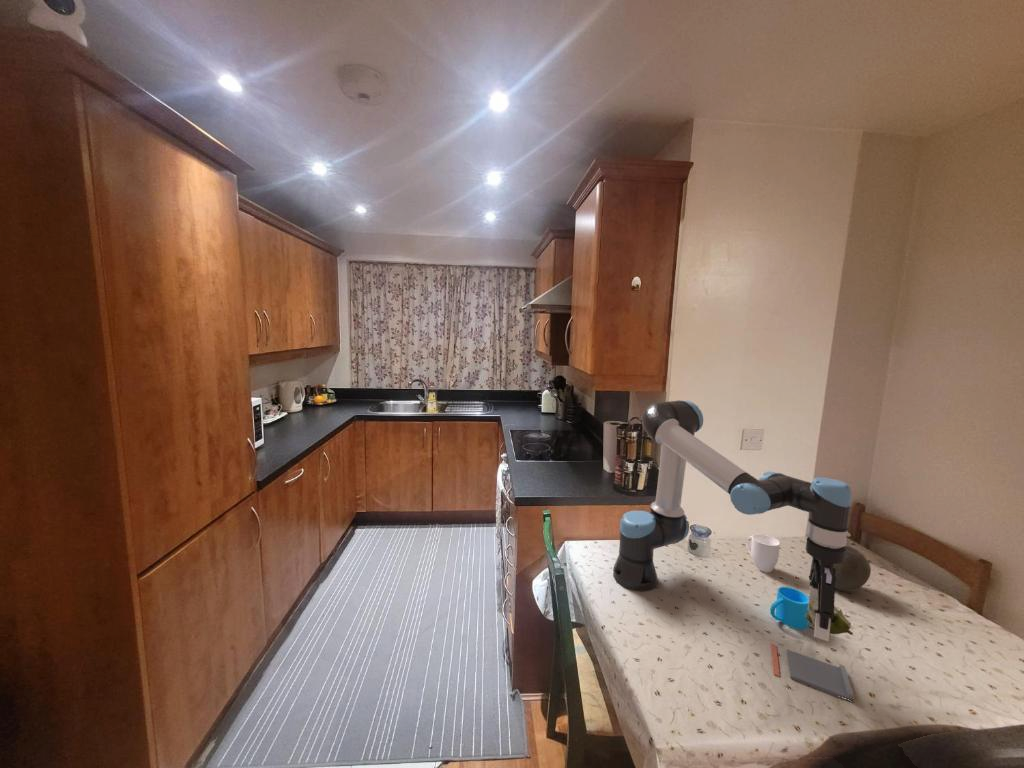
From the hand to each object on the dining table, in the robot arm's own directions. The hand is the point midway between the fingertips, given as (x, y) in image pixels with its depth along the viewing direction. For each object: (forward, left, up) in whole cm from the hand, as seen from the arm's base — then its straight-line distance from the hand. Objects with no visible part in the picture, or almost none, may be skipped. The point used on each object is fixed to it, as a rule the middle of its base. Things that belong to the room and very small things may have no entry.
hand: (817, 624), depth 96 cm
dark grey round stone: (+14, +51, -14) cm, 55 cm away
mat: (+1, 0, -14) cm, 14 cm away
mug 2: (-4, +20, -14) cm, 25 cm away
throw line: (-8, 0, -14) cm, 16 cm away
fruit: (+2, 0, -1) cm, 2 cm away
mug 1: (-10, +50, -14) cm, 53 cm away
